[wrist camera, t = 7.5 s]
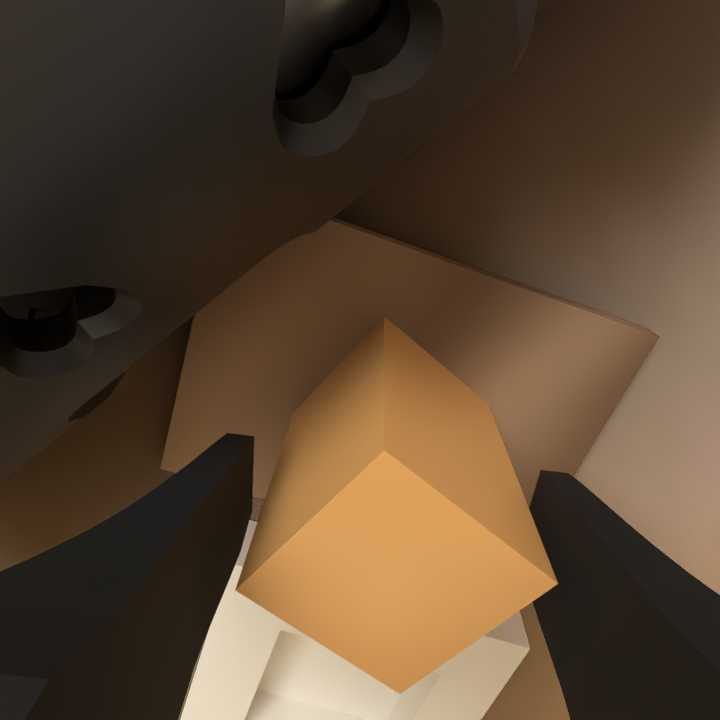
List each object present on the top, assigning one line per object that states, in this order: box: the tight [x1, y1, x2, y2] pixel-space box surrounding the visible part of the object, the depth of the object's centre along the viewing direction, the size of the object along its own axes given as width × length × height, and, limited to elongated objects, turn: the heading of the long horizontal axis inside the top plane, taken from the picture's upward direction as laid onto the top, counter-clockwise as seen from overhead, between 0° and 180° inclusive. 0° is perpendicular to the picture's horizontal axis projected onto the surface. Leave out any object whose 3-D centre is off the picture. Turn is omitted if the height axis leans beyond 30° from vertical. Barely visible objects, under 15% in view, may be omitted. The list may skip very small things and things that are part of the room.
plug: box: [235, 316, 558, 694], centre depth 12 cm, size 4×4×6 cm
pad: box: [160, 217, 659, 507], centre depth 15 cm, size 12×9×1 cm
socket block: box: [181, 520, 530, 720], centre depth 19 cm, size 10×10×2 cm
